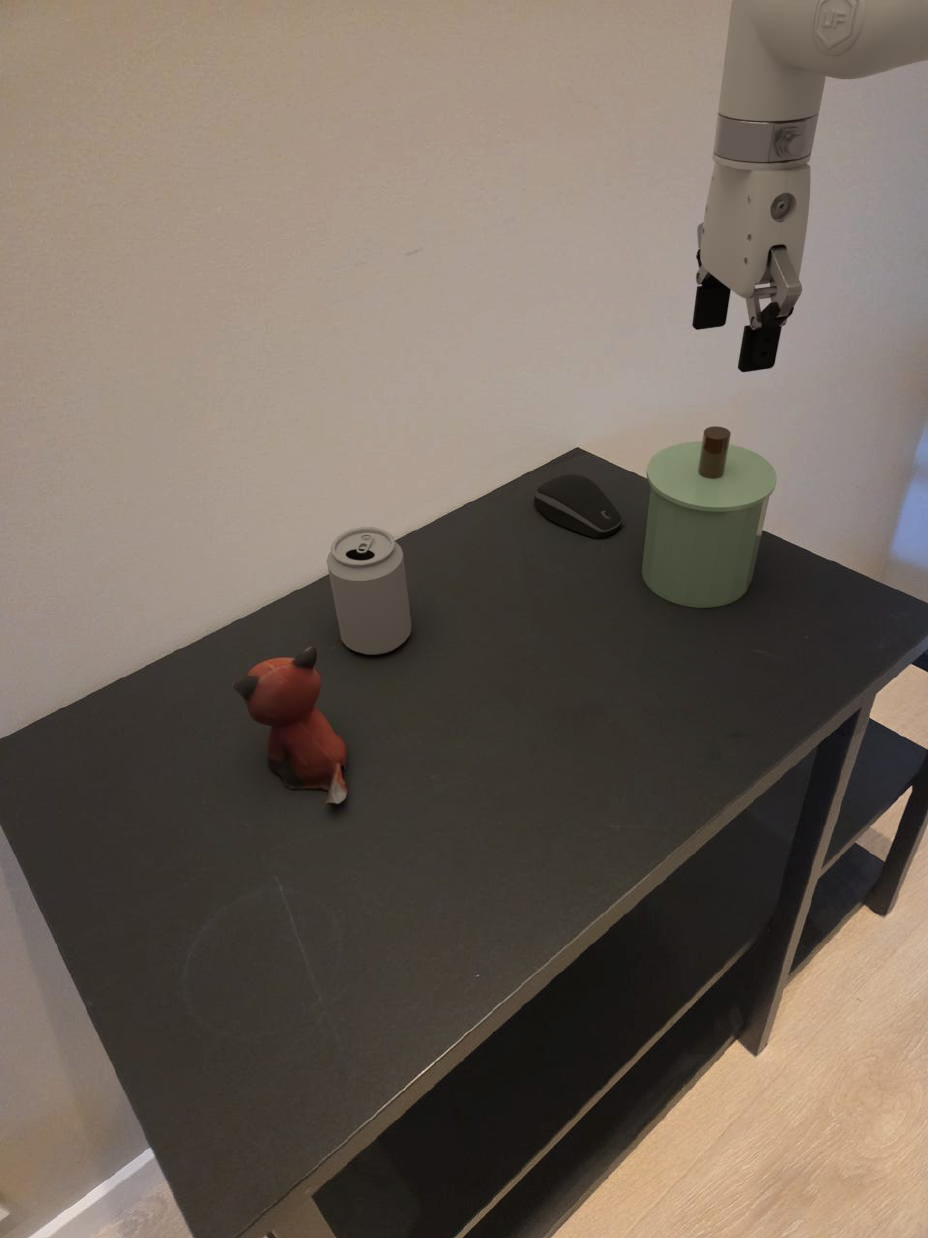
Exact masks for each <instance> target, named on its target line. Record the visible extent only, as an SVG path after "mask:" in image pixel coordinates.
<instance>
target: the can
mask: <svg viewBox="0 0 928 1238" xmlns="http://www.w3.org/2000/svg"><path fill="white" fill-rule="evenodd" d="M326 567H327V571H328V577H329V582H330V587H331V593H332V597H333V602H334V603H333V604H334V608H335V613H336V619H337V623H338V628H339V634H340V639H341V642H343V643H342V644H344V645H345V646H346V647H347V648H348V649H350V650H351V651H353V652H356V653H359V654H363V655H367V656H379V655H383V654H384V655H385V654H387V653H390V652H392V651H394V650H395V649H397V648H399V647H400V646H401V645H403V644H404V643H405V642H406V641H407V639H408V638H409V637H410V635H411V632H412V618H411V611H410V609H411V608H410V601H409V593H408V585H407V583H408V582H407V577H406V576H407V575H406V566H405V558H404V553H403V550H402V547H401V545H399V544H398V543H397V541H395V538H394V536H393V535H392V533H390V532H389V531H387V530H385V529H383V528H380V527H375V526H361V527H355V528H352V529H349V530H346V531H344V532H343V533H341V534H340V535H338V536H336V538H335V539H334V540H333V541H332V543H331V546H330V551H329V553H328V555H327V557H326Z"/></svg>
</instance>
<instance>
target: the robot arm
mask: <svg viewBox="0 0 928 1238" xmlns="http://www.w3.org/2000/svg"><path fill="white" fill-rule="evenodd" d="M724 53H725V54H724V61H723V70H722V77H721V84H720V85H721V86H720V93H719V101H718V110H717V111H718V112H717V117H716V124H715V125H716V126H715V135H714V140H713V141H714V142H713V149H712V150H713V151H712V157H711V158H712V161H713V162H714V165H713V169H712V174H711V177H710V183H709V188H708V193H707V198H706V204H705V210H704V215H703V222H701V223H700V224H698V225H697V229H696V234H697V248H698V249H697V252H696V255H695V257H696V260H697V264H698V270H697V272H696V274H695V282H696V284H697V285H698V286H696V290H695V291H696V292H695V299H694V307H693V315H692V316H693V317H692V323H691V326H692V328H694V330H696V331H701V330H706V329H715V328H721V327H724V326H725V325H726V324H727V318H728V310H729V304H730V299H731V291H733V293H734V294H736V295H738V296H739V297H740V298H743V299H745V303H746V310H747V315H748V322H749V325H744V326H743V332H742V337H741V344H740V351H739V356H738V361H737V369H738V370H739V371H740V372H741V373H750V372H755V371H756V372H757V371H763V370H770V369H772V368H774V366H775V365H776V359H777V353H778V349H779V343H780V339H781V334H782V330H783V329H782V327H784V326H786V325H787V322H788V319H789V318H790V317H791V316H792V315H793V313H794V309H795V305H796V304H797V302H798V300H799V299H800V296H801V295H802V293H803V286H802V282H801V280H800V275H801V269H802V262H803V256H804V250H805V245H806V237H807V230H808V222H809V211H810V200H811V165H810V164H808V163H810V161H811V157H812V152H813V146H814V141H815V138H816V137H815V136H816V130H817V126H818V120H819V116H820V111H821V104H822V99H823V94H824V89H825V84H826V79H827V77H828V78H833V79H838V80H856V79H863V78H867V77H871V76H874V75H878V74H881V73H882V74H883V73H886V72H888V71H892V70H894V69H897V68H901V67H904V66H908V65H912V64H916V63H921V62H924V61H928V0H731V5H730V12H729V20H728V30H727V38H726V45H725V52H724ZM766 284H767V285H768V284H769V286H765V287H757V288H756V286H760V285H766ZM764 299H770V302H769V303H768V304H767V305H766V306H765V307H764V308H763V309H761V303H760V300H764Z"/></svg>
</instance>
